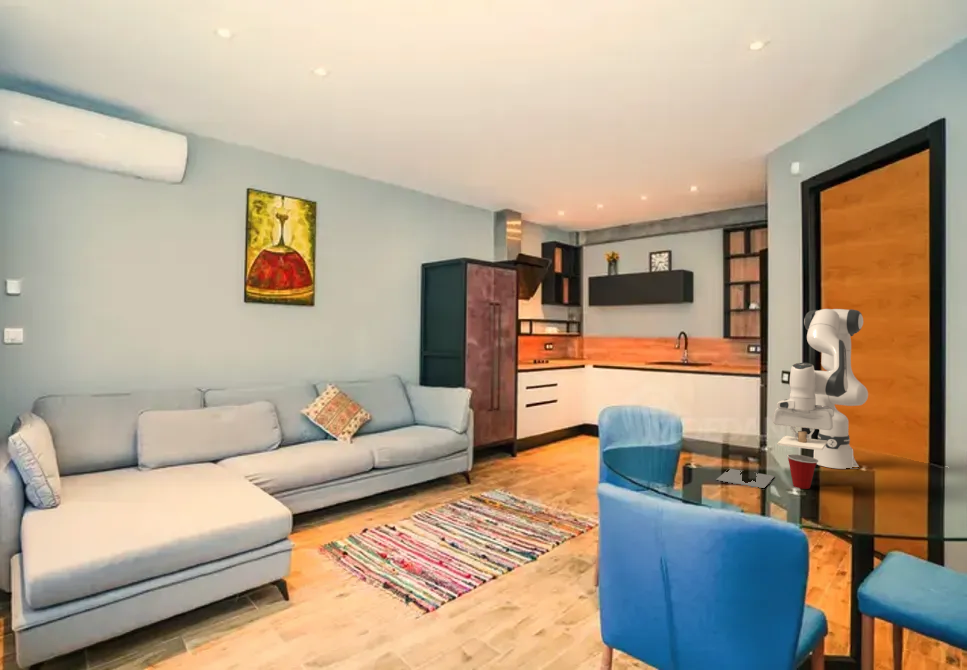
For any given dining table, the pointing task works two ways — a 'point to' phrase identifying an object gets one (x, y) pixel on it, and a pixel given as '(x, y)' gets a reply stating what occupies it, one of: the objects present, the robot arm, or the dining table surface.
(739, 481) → the mat
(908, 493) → the dining table surface
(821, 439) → the robot arm
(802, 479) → the plastic cup
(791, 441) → the lid
